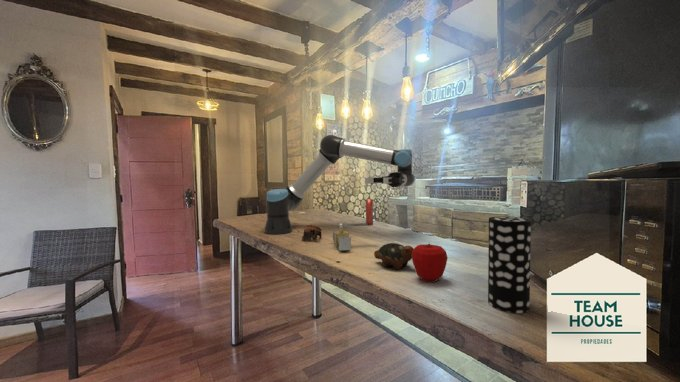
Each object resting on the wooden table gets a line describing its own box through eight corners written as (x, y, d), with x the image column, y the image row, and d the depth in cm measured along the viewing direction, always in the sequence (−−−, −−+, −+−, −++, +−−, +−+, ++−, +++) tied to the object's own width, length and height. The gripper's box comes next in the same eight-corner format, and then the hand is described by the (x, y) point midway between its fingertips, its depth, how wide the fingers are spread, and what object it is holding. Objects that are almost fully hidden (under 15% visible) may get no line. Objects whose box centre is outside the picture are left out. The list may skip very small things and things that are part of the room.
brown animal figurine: (297, 240, 141) (302, 224, 144) (313, 247, 145) (318, 231, 148) (307, 238, 131) (313, 221, 134) (325, 245, 135) (330, 228, 138)
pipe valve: (332, 242, 134) (331, 224, 133) (344, 241, 135) (343, 223, 134) (338, 253, 115) (337, 232, 115) (352, 252, 116) (351, 231, 115)
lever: (338, 227, 123) (338, 200, 122) (337, 226, 126) (337, 200, 125) (373, 225, 125) (373, 199, 124) (372, 224, 128) (371, 199, 127)
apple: (450, 277, 86) (450, 240, 86) (443, 288, 78) (443, 248, 77) (416, 272, 91) (416, 237, 91) (407, 281, 83) (407, 244, 82)
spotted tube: (514, 296, 72) (515, 216, 71) (538, 312, 63) (540, 221, 62) (481, 297, 71) (481, 216, 70) (501, 314, 63) (502, 222, 62)
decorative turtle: (410, 274, 89) (408, 248, 89) (368, 269, 98) (365, 245, 98) (422, 264, 97) (420, 241, 96) (382, 260, 106) (380, 238, 106)
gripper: (417, 187, 141) (396, 189, 123) (378, 186, 154) (354, 188, 136) (417, 171, 141) (396, 171, 123) (378, 172, 154) (354, 172, 135)
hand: (374, 180), depth 129 cm, fingers open, 9 cm apart
